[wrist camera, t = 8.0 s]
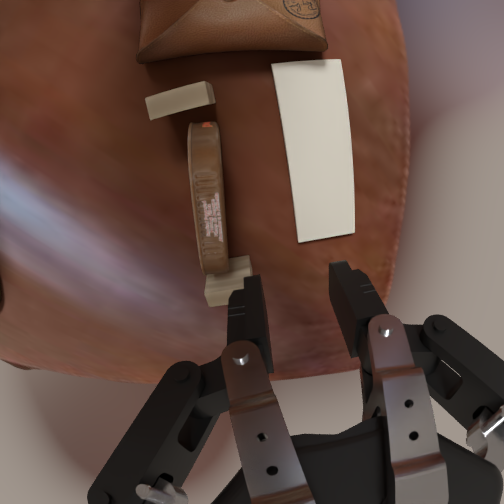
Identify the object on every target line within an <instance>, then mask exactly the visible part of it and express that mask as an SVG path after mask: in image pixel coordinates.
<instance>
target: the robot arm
mask: <svg viewBox="0 0 504 504" xmlns="http://www.w3.org/2000/svg"><path fill="white" fill-rule="evenodd" d="M243 280H244V289H238V290H233V292H232V293H231V295H230V297H229V299H228V325H227V346H226V347H225V349H224V350H223V352H222V354H221V356H220V357H219V358H217V359H216V360H214V361H212V362H209V363H206V364H204V365H201V366H198V365H197V364H195V363H194V362H191V361H181V362H178V363H175V364H173V365H172V366H171V367H170V368H169V369H168V370H167V371H166V373H165V374H164V376H163V377H162V379H161V380H160V382H159V383H158V385H157V387H156V388H155V390H154V391H153V393H152V394H151V396H150V397H149V399H148V400H147V402H146V403H145V405H144V406H143V408H142V409H141V411H140V412H139V414H138V416H137V417H136V419H135V420H134V421H133V423H132V424H131V426H130V428H129V429H128V431H127V432H126V434H125V435H124V437H123V438H122V440H121V441H120V443H119V445H118V446H117V447H116V449H115V450H114V452H113V453H112V455H111V456H110V458H109V460H108V461H107V463H106V464H105V466H104V467H103V469H102V470H101V472H100V473H99V475H98V476H97V478H96V480H95V481H94V483H93V484H92V486H91V487H90V489H89V491H88V495H87V499H88V504H188V497H187V494H186V493H185V492H184V490H183V489H182V488H181V487H182V485H183V483H184V481H185V479H186V478H187V476H188V474H189V472H190V470H191V469H192V467H193V465H194V463H195V461H196V459H197V458H198V456H199V454H200V452H201V450H202V448H203V446H204V445H205V443H206V441H207V439H208V437H209V435H210V433H211V431H212V429H213V427H214V425H215V423H216V421H217V419H218V418H219V416H220V413H223V412H225V411H228V410H229V412H230V418H231V422H232V427H233V431H234V436H235V440H236V444H237V448H238V452H239V456H240V461H241V464H242V467H241V469H240V470H239V471H238V472H237V474H236V475H235V476H234V477H233V479H232V480H231V481H230V482H229V483H228V485H227V486H226V487H225V488H224V489H223V490H222V492H221V493H220V494H219V495H218V496H217V497H216V499H215V500H214V501H213V502H212V503H211V504H500V500H501V496H502V491H503V478H502V475H501V472H502V470H503V469H504V361H503V360H502V359H500V358H499V357H498V356H497V355H496V354H494V353H493V352H492V351H491V350H489V349H488V348H487V347H486V346H484V345H483V344H482V343H481V342H479V341H478V340H477V339H475V338H474V337H473V336H471V335H470V334H469V333H467V332H466V331H465V330H464V329H462V328H461V327H459V326H458V325H457V324H456V323H454V322H453V321H452V320H450V319H449V318H447V317H445V316H443V315H431V316H429V317H428V318H427V319H426V320H425V322H424V324H423V325H408V324H402V322H401V321H400V320H399V319H398V318H397V317H395V316H393V315H389V313H388V311H387V309H386V307H385V306H384V304H383V302H382V300H381V299H380V297H379V295H378V293H377V292H376V291H375V288H374V286H373V285H372V283H371V281H370V280H369V278H368V276H367V275H366V274H365V273H363V272H362V271H360V270H359V269H357V270H351V268H350V266H349V264H348V262H347V261H346V260H343V261H337V262H332V263H329V296H330V301H331V304H332V306H333V309H334V312H335V315H336V317H337V320H338V323H339V325H340V328H341V331H342V334H343V336H344V339H345V342H346V345H347V348H348V351H349V354H350V356H351V358H354V357H358V356H359V359H360V362H361V364H360V379H361V388H362V399H363V415H362V422H361V423H359V424H357V425H355V426H353V427H351V428H349V429H348V430H345V431H344V432H341V433H339V434H335V435H328V434H327V435H326V434H300V435H294V436H290V435H289V432H288V429H287V426H286V424H285V421H284V418H283V415H282V412H281V409H280V406H279V404H278V401H277V398H276V396H275V394H274V392H273V389H272V386H271V383H270V380H269V375H268V373H274V370H273V361H272V353H271V344H270V335H269V327H268V318H267V310H266V304H265V298H264V293H263V287H262V282H261V277H260V274H259V275H253V276H247V277H244V278H243ZM441 360H443V361H444V362H445V363H446V364H448V365H449V366H450V367H451V368H452V369H454V370H455V371H456V372H457V373H458V374H459V375H460V376H461V377H460V376H459V375H458V374H457V373H456V372H454V371H453V370H452V369H451V368H450V367H449V366H447V365H446V364H445V363H444V362H443V361H441ZM430 396H431V397H432V398H433V399H434V400H435V401H436V402H438V403H439V404H440V405H441V406H442V407H443V408H444V409H445V410H446V411H447V412H448V413H449V414H450V415H451V416H453V417H454V418H455V419H456V420H457V421H458V422H459V423H460V424H461V425H462V426H463V427H464V428H465V429H466V430H467V438H466V444H467V445H468V446H470V447H472V449H473V451H474V453H472V452H471V451H469V450H467V449H465V448H464V447H462V446H460V445H458V444H456V443H454V442H453V441H451V440H449V439H447V438H446V437H444V436H442V435H441V434H439V433H437V431H436V425H435V419H434V414H433V409H432V405H431V400H430Z"/></svg>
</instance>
